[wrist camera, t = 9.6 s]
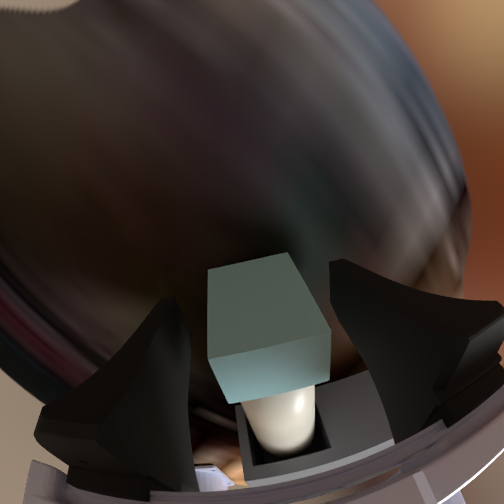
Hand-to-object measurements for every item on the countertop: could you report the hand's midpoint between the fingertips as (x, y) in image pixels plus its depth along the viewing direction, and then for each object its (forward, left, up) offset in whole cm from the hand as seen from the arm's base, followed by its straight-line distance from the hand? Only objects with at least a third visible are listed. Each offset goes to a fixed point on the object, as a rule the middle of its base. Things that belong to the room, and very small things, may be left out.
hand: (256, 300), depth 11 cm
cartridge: (-5, 0, -1) cm, 5 cm away
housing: (-15, -4, -2) cm, 15 cm away
